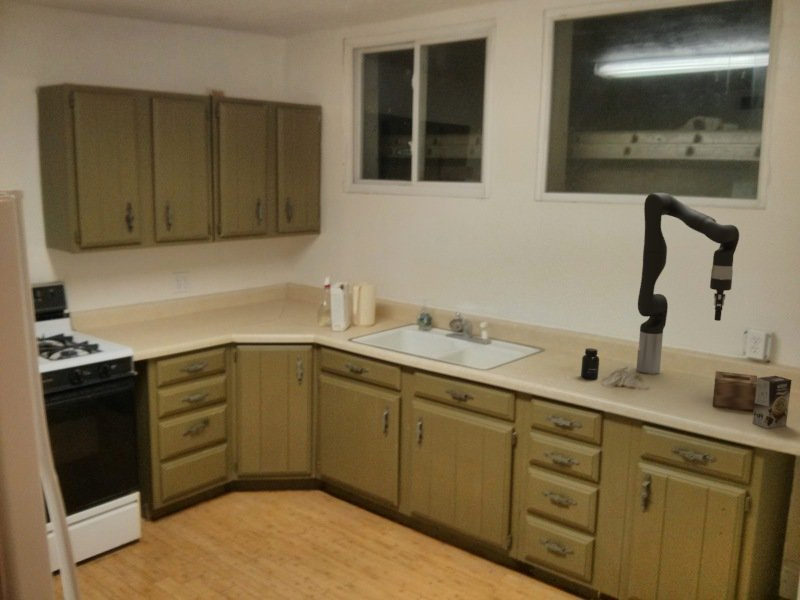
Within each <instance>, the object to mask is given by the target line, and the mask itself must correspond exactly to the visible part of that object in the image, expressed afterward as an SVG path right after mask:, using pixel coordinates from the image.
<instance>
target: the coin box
mask: <svg viewBox="0 0 800 600" xmlns="http://www.w3.org/2000/svg"><path fill="white" fill-rule="evenodd" d="M714 373H715V374H714V386H713V393H712V394H713V396H712V408H719V409H720V408H721V409H726V408H728V410H735V411H741V412H742V411H743V412H751V413H754V406H755V397H756V389H757V380H758V375H754V374H746V373H745V374H744V373H738V372H737V373H735V372H727V371H717V370H715V372H714Z"/></svg>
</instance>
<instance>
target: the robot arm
mask: <svg viewBox="0 0 800 600" xmlns="http://www.w3.org/2000/svg"><path fill="white" fill-rule="evenodd" d="M643 206H644V208H643V209H644V211H643V213H644V240H643V252H642V270H641V277H640V278H641V280H640V287H639V293H638V298H637V309H638V310H637V311H638V312H639V314H640V315H641V316H642V317H648V318H647V320H646V321H644V322H643V323H641V324H640V325H639V340H638V349H637V359H636V370H635V371H636V372H639V373H641V374H642V373H643V374H649V375H655V374H659V373H660V372H661V364H662V363H661V362H662V351H663V350H662V349H663V337H664V329H665V327H666V324H667V317H668V308H669V306H668V300H667V298H666V296H665V295H663V294H661V293H654V292H655V286H656V283H657V281H658V279H659V277H660V276H661V274H662V272H663V271H664V269H665V268H666V264H667V255H668V254H667V252H668V246H667V243H666V240H665V239H666V238H665V237H664V233H663V230H662V216H669V217H673V218H676V219H678V220H679V221H682V223H684V224H685V225H686V226H687V227H688V228H690V229H691V230H693V231H695V232H698V233H701V234H702V235H704V236H706V237H707V238H708V239H709V240H711V241H712V242H714V243H717V244H720V245H719V248H717V249H716V250H715V251H714V252H713V256H712V257H713V258H712V268H711V271H710V282H709V283H710V284H709V288H710V290H714V291H715V292H716V293H714V295H713V300H714V302H713V306H714V310H715V311H714V320H715V321H716V322H717V321H718V322H719V321H721V320H722V311H723V307H724V305H725V300H726V294H725V293H724V292H725V291H730V290H732V286H733V285H732V284H733V275H734V273H733V272H734V270H733V266H734V265H733V264H734V255H735V252H736V251H737V247H738V243H739V240H740V232H739V231H740V230H739V228H738V227H737V226H736V225H733V224H720V223H718V222H717V220H716V219H715V218H713V217H712V216H709V215H707V214H705V213H702V212H700V211H697V210H696V209H694V208H691V207H690V206H688V205H686V204H684V203H683V202H682V201H680V200H678V199H677V198H676V197H674V196H673V195H671V194H670V193H666V192H652V193H649V194H648V195H647V196H646V198H645V201H644V205H643Z"/></svg>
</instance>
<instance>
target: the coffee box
mask: <svg viewBox="0 0 800 600" xmlns="http://www.w3.org/2000/svg"><path fill="white" fill-rule="evenodd" d="M757 379H758V380H757V389H756V397H755V406H754V412H753V416H752V424H754V425H757V426H760V427H762V428H764V429H772V428H773V429H774V428H781V427H785V426H787V422H788V421H787V420H788V414H789V413H788V411H789V404H790V397H791V388H792V379H789V378H786V377H783V376H777V375H769V376H763V377H757Z"/></svg>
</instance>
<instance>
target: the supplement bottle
mask: <svg viewBox="0 0 800 600" xmlns="http://www.w3.org/2000/svg"><path fill="white" fill-rule="evenodd" d="M599 366H600V358H599V356H598V349H597V348H590V347H587V348H585V351H584V355H583V356H582V357H581V370H580V371H581V372H580V377H581V379H584V380H588V381H595V380H598V377H599V370H600V369H599V368H600V367H599Z"/></svg>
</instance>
